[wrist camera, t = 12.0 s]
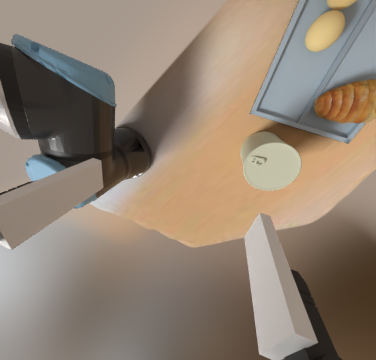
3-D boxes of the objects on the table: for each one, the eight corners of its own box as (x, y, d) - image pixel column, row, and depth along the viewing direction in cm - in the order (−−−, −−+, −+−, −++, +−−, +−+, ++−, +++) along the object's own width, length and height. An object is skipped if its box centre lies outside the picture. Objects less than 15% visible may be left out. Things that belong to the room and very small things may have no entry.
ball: (294, 51, 27) (305, 42, 23) (311, 16, 24) (327, -1, 20) (321, 58, 26) (336, 50, 22) (340, 23, 24) (362, 6, 20)
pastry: (306, 123, 30) (315, 125, 27) (317, 84, 27) (328, 81, 24) (367, 122, 27) (385, 123, 24) (385, 78, 24) (408, 73, 21)
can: (254, 124, 34) (263, 132, 23) (291, 142, 33) (318, 158, 23) (233, 158, 38) (233, 178, 28) (265, 174, 38) (277, 200, 28)
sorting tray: (249, 113, 33) (250, 113, 32) (317, -42, 22) (323, -52, 21) (343, 142, 31) (348, 143, 29) (469, -15, 20) (487, -24, 18)
